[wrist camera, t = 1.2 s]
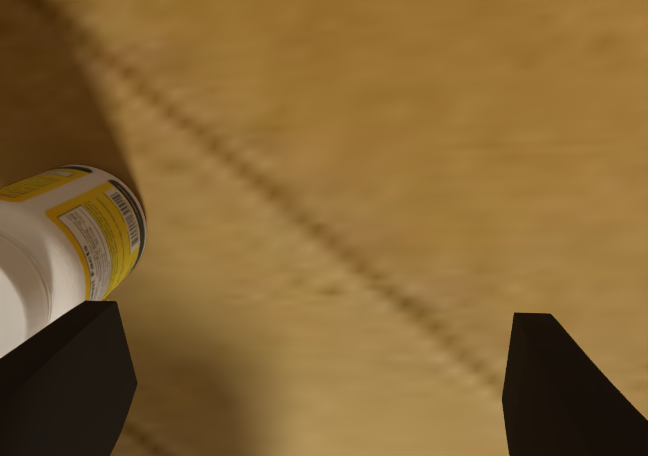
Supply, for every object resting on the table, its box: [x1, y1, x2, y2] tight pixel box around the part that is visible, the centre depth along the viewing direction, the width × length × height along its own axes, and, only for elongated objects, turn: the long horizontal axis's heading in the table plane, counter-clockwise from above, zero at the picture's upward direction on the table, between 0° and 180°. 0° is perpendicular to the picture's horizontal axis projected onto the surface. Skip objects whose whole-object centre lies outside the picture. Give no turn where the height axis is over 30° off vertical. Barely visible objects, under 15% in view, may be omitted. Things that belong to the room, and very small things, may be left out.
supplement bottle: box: [0, 165, 147, 358], centre depth 19 cm, size 5×5×8 cm
